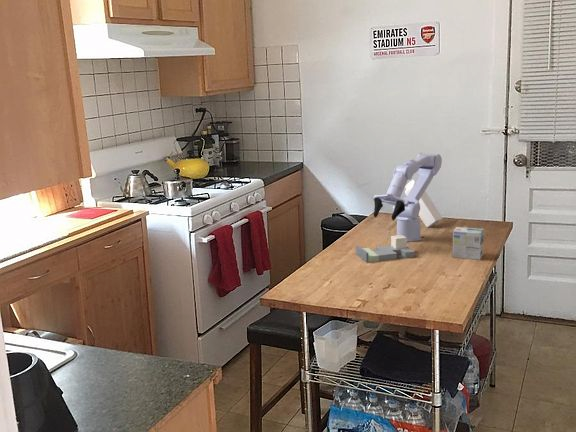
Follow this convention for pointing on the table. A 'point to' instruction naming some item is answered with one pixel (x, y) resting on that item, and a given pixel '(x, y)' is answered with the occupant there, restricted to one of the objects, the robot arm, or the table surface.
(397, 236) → the block
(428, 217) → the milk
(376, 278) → the table surface
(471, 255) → the light bulb box
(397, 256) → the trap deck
